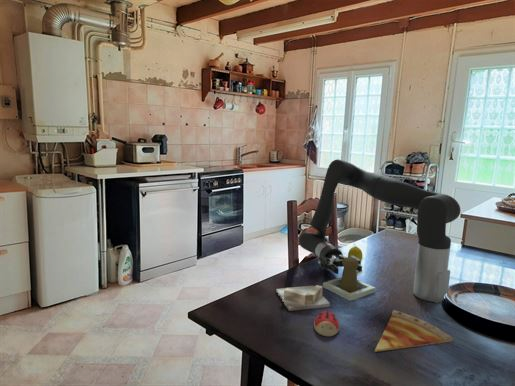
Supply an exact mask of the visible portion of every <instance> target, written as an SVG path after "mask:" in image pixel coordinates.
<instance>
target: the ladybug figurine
mask: <svg viewBox="0 0 515 386" xmlns="http://www.w3.org/2000/svg"><path fill="white" fill-rule="evenodd" d="M313 326H314V330H315V331H316V332H317V333H318V334H319V335H320V336H324V337H333V336H336V334H337V333H339V331H340V322H339V320H338V318H337V316H336V315H335V314H334V313H333V312H331V311H329V310H323V311H321V312H320V313H319V314H318V315H317V316H316V317H315V319H314V322H313Z"/></svg>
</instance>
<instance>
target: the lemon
mask: <svg viewBox="0 0 515 386" xmlns="http://www.w3.org/2000/svg"><path fill="white" fill-rule="evenodd" d="M351 255H353V256H355V257H356V258H358V259H360V260H361V262H362V260H363V252H362V249H361V248H360V247H358V246H356V245H355V246H353V247H351V248H350V249H349V251H348V253H347V257H350V256H351Z"/></svg>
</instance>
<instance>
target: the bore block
mask: <svg viewBox="0 0 515 386" xmlns="http://www.w3.org/2000/svg"><path fill="white" fill-rule="evenodd" d="M341 278H342V276H341V277H338V278H334V279H331V280H328V281H327V280H326V281H324V282H322V286H323V289H326V290H328V291H329V292H332V293H333V294H335V295H338V296H340V297H342V298H343V299H345V300H347V301H350V302H351V301H353V300H357V299H359V298H362V297H365V296H368V295H370V294H374V293H376V287H374V286H372V285H370V284H368V283H365V282H363V281H361V280H359V279H357V285H358V288H360V289H358V291H355V292H352V293H349V292H346V291H344V290H342V289H340V287H338V286H340V283H341Z"/></svg>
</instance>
